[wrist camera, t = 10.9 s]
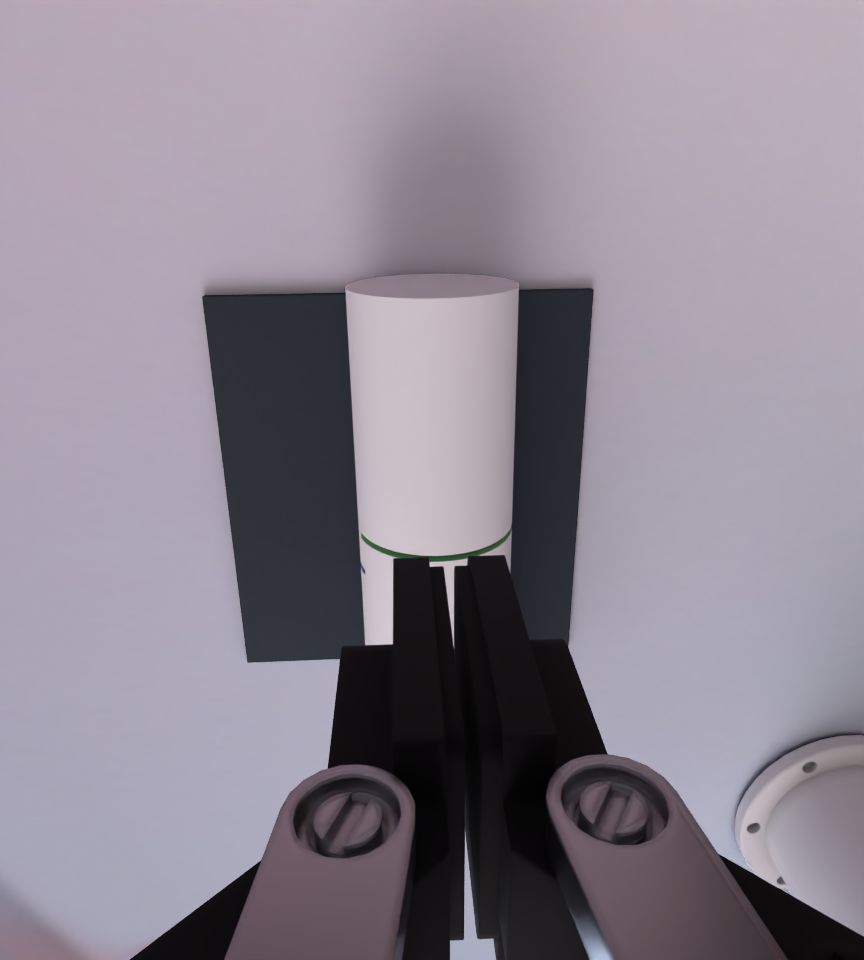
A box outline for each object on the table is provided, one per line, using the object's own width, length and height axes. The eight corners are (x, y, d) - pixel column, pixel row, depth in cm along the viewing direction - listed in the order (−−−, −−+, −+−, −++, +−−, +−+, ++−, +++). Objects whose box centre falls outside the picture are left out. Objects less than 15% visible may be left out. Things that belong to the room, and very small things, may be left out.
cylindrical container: (338, 277, 34) (364, 724, 43) (353, 302, 27) (380, 821, 37) (493, 271, 35) (485, 707, 44) (542, 293, 28) (521, 798, 38)
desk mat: (591, 288, 35) (593, 289, 35) (566, 645, 43) (568, 649, 43) (203, 295, 35) (202, 296, 34) (248, 658, 42) (247, 662, 42)
